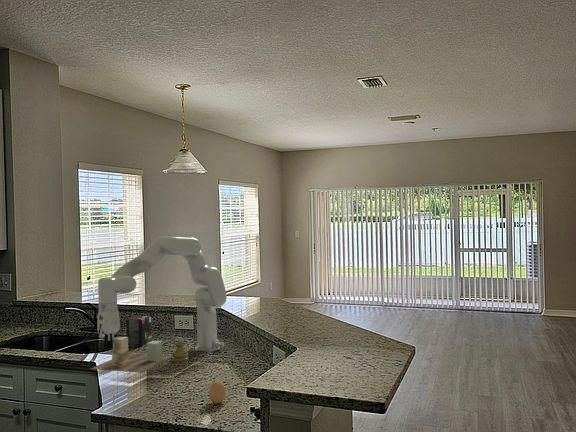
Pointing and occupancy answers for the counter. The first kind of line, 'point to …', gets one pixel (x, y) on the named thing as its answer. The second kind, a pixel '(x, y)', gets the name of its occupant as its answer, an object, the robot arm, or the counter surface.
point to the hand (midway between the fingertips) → (108, 349)
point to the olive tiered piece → (180, 353)
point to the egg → (217, 392)
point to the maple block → (120, 352)
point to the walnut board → (133, 364)
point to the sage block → (154, 351)
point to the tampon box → (138, 331)
